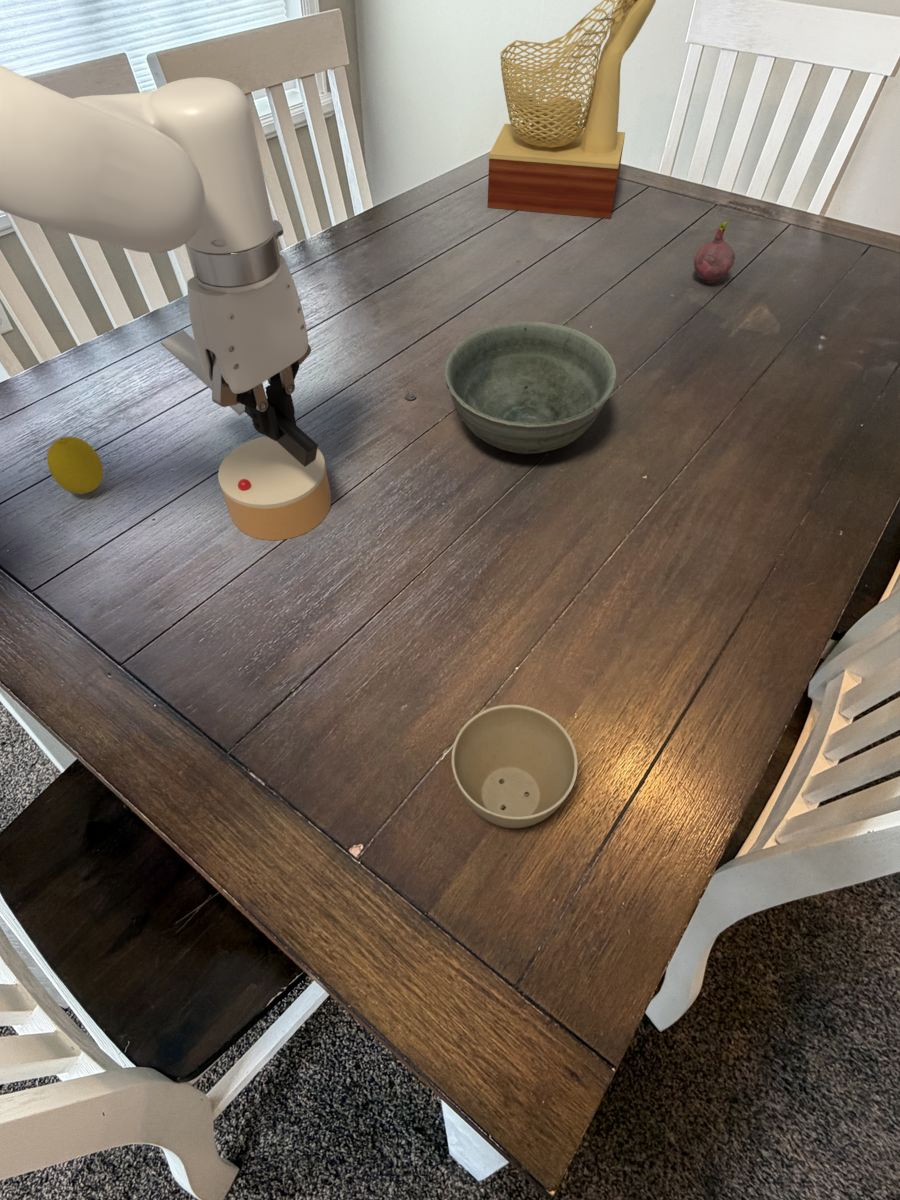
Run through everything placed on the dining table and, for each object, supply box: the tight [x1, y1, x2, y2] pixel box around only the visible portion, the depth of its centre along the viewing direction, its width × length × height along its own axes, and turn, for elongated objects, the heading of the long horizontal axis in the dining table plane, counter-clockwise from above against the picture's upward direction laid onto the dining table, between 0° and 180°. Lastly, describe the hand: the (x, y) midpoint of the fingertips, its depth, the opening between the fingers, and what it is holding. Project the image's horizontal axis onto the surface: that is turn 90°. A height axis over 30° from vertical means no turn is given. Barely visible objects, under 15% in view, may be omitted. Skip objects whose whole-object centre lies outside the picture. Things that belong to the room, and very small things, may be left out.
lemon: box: [46, 436, 104, 495], centre depth 86 cm, size 6×6×8 cm
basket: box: [487, 0, 657, 219], centre depth 128 cm, size 25×18×35 cm
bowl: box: [443, 320, 617, 455], centre depth 91 cm, size 21×21×10 cm
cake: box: [217, 435, 332, 541], centre depth 85 cm, size 12×12×6 cm
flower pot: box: [451, 704, 579, 829], centre depth 61 cm, size 10×10×7 cm
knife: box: [160, 329, 319, 467], centre depth 77 cm, size 3×21×3 cm, turn 51°
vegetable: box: [693, 221, 736, 284], centre depth 116 cm, size 6×6×10 cm
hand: (276, 428), depth 77 cm, fingers closed on knife, 1 cm apart
